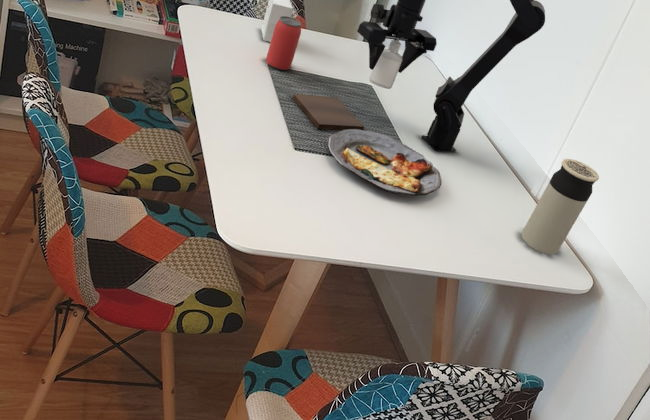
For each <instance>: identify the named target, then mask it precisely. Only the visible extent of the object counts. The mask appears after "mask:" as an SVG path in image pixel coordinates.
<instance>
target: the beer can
mask: <svg viewBox="0 0 650 420" xmlns="http://www.w3.org/2000/svg"><path fill="white" fill-rule="evenodd" d="M301 35H302V22H301V21H300V20H299V19H296V18H294V17H287V16H281V17H280V19H279V20H278V22H277V23H276V25H275V29H274V33H273V36H272V40H271V42H269V43H270V44H269V46H268V50H267V55H266V58H265V62H266V64H267V65H268V66H269V67H271V68H273V69H276V70H279V71H280V70H281V71H287V70H289V69H291V67H292V64H293V61H294V57H295V54H296V51H297V49H298V44H299V41H300V38H301Z"/></svg>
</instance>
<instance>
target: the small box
mask: <svg viewBox="0 0 650 420" xmlns="http://www.w3.org/2000/svg"><path fill="white" fill-rule="evenodd" d="M293 10H294V9H293V6H292V2H291V0H268V3H267V6H266V10H265V13H264V18H263V21H262V26H261V29H260V31H261V35H262V40H263V41H265V42H269V43H271V40H272V36H273V33H274V29H275V25H276V23H277V22H278V20H279V19H280V17H281V16H287V17H291V16H292V12H293ZM291 18H292V17H291Z"/></svg>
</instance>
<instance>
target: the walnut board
mask: <svg viewBox="0 0 650 420" xmlns="http://www.w3.org/2000/svg"><path fill="white" fill-rule="evenodd" d="M292 99H293V101H294V102H295V103H296V104H297V105H298V107H299V108H300V109H301V110H302V111H303V113H304V114H305V115H306V116H307V118H309V119H310V121H311V122H312V123H313V125H314V126H315V127H316V128H317V129H318V130H335V131H336V130H337V131H343V129H344V130H348V129H351V130H352V129H355V130H356V129H358V130H363V131H364V128H365V126H364V124H362V122H360V120H359V119H358V118H357V117H356V115H354V114H353V113H352V111H351V110H349V108H348V107H347V106H346V105H345V104H344V103H343V102H342V101H341V100H340V99H339V97H337V96H325V95H311V94H302V93H301V94H299V93H293V96H292Z"/></svg>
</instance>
